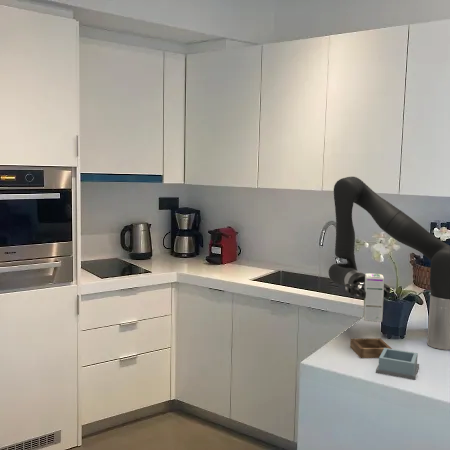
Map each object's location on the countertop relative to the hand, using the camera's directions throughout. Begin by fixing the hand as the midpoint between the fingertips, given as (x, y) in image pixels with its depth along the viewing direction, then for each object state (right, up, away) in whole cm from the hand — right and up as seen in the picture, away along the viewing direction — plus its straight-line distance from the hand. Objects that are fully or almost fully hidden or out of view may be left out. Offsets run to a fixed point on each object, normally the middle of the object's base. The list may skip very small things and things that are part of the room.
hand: (376, 295), depth 174 cm
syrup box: (0, -8, +3) cm, 9 cm away
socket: (+4, -21, -10) cm, 24 cm away
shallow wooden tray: (-1, -19, +5) cm, 20 cm away
